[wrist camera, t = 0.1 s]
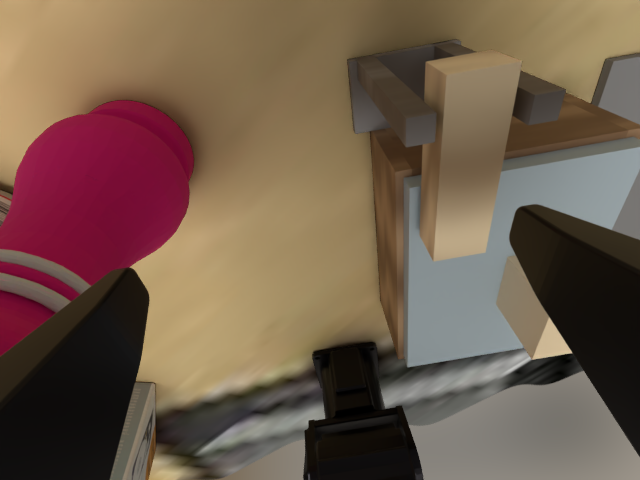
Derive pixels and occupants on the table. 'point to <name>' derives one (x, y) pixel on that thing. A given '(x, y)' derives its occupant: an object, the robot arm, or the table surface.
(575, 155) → the lid
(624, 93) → the felt pad
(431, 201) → the tan wooden bar
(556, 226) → the robot arm
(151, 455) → the hard drive box
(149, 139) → the pepper mill
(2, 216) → the soda can
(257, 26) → the table surface
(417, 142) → the open wooden box
